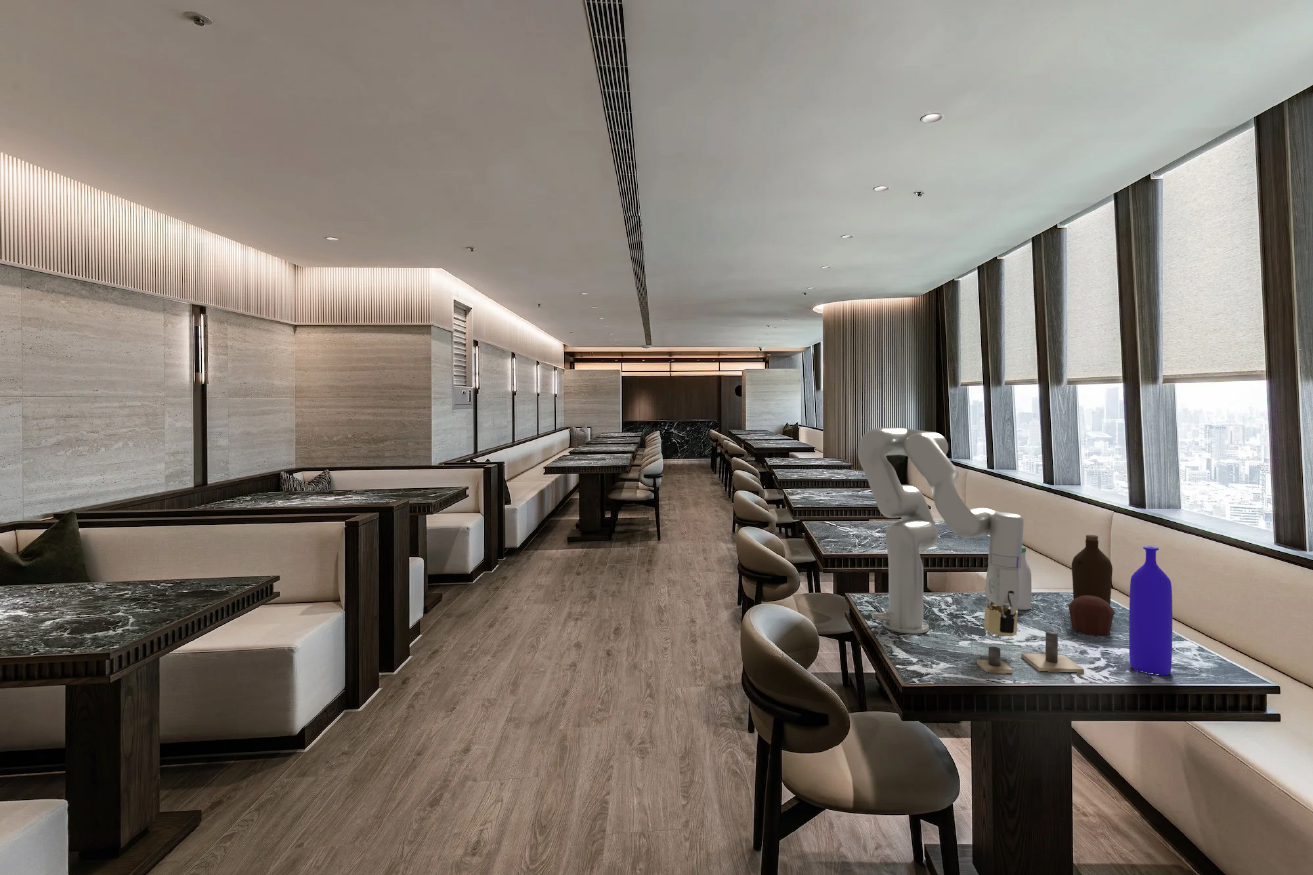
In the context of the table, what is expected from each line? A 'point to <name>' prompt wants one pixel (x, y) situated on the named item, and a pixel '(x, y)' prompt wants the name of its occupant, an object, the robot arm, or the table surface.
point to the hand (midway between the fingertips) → (1000, 626)
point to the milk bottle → (1024, 584)
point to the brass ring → (996, 620)
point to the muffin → (1091, 615)
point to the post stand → (1051, 658)
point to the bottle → (1150, 618)
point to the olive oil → (1092, 571)
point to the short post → (994, 662)
